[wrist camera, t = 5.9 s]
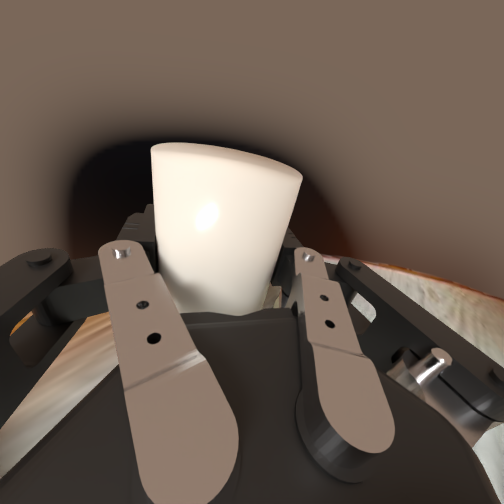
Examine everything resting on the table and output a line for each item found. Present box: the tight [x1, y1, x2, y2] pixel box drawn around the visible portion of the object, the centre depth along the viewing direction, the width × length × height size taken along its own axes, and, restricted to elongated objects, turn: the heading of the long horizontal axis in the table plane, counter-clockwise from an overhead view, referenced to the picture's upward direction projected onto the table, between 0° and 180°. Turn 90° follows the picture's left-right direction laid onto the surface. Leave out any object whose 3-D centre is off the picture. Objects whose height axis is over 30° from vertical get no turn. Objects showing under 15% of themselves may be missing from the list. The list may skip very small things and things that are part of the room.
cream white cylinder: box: [151, 143, 302, 316], centre depth 10 cm, size 6×6×9 cm
